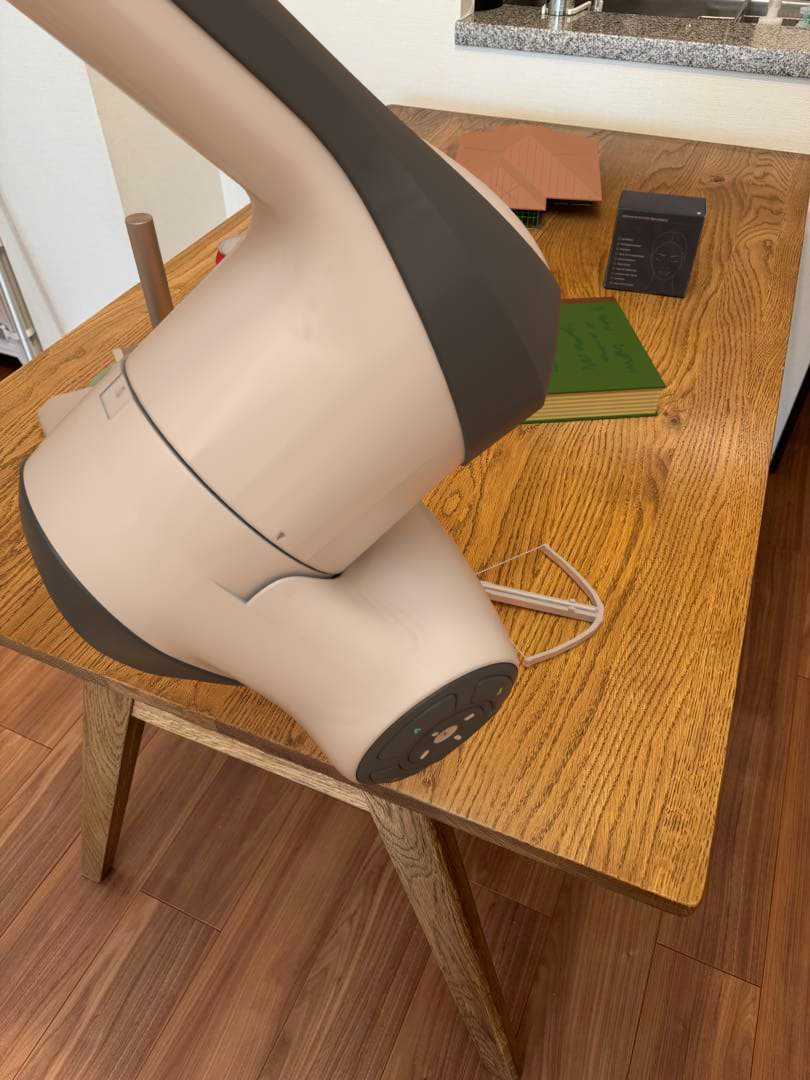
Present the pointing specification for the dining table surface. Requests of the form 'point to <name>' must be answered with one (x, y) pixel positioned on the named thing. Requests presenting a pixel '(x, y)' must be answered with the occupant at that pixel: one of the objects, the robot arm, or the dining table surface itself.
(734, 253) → the dining table surface
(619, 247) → the box
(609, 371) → the hardcover book
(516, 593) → the crossbow
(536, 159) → the house
